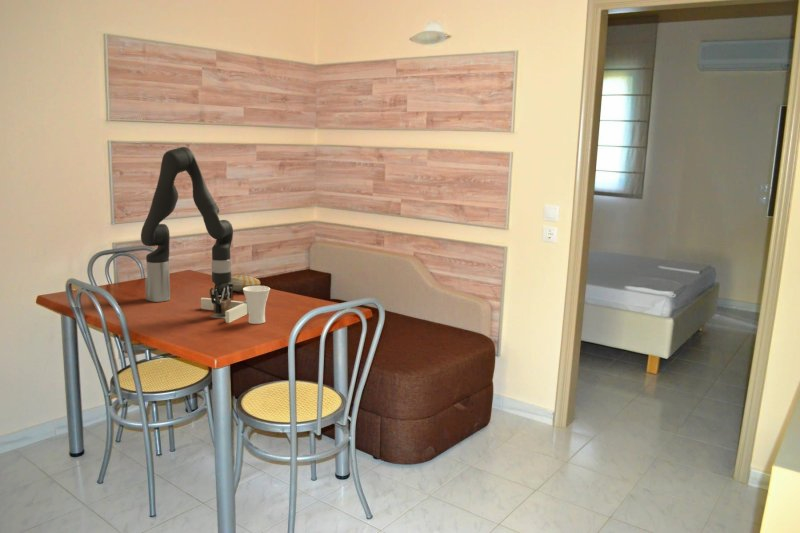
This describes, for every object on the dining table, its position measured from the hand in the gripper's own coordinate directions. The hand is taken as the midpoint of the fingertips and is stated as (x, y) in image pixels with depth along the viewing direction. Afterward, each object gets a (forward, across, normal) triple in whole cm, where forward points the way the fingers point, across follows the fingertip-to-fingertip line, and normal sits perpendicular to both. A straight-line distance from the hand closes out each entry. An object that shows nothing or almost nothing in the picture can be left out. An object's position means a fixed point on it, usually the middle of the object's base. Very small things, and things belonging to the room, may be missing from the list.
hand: (222, 311), depth 268 cm
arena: (+2, -1, +3) cm, 4 cm away
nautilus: (+2, +43, +17) cm, 46 cm away
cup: (+2, -3, -17) cm, 17 cm away
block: (0, 0, 0) cm, 0 cm away
